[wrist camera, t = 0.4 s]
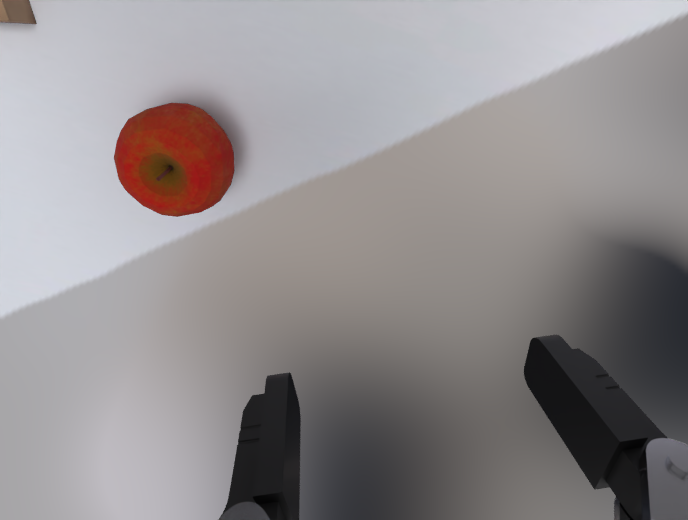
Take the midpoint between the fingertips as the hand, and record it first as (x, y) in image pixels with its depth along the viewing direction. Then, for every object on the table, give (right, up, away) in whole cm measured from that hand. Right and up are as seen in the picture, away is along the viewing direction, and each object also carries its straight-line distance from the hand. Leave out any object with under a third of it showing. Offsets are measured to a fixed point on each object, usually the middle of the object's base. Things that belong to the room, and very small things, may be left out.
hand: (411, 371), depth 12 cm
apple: (-16, +15, +22) cm, 31 cm away
